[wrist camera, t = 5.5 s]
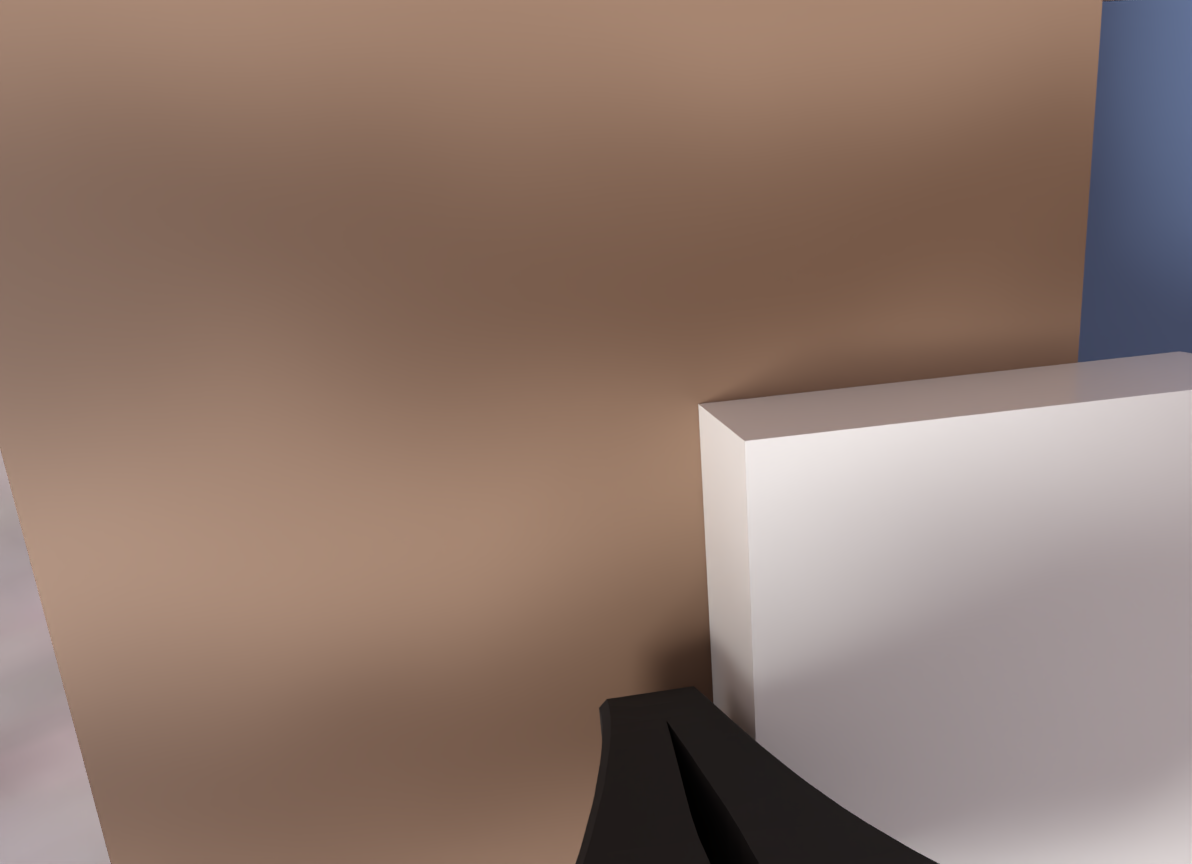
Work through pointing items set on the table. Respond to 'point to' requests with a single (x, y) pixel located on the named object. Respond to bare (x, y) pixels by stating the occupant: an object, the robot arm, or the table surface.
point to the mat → (1140, 185)
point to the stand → (466, 363)
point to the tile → (967, 604)
